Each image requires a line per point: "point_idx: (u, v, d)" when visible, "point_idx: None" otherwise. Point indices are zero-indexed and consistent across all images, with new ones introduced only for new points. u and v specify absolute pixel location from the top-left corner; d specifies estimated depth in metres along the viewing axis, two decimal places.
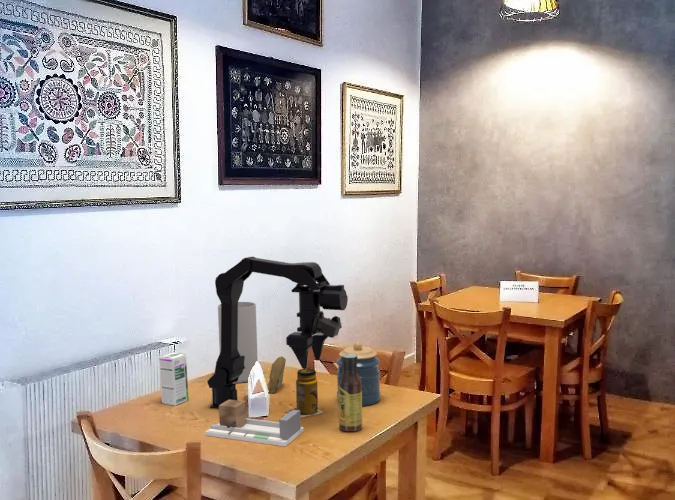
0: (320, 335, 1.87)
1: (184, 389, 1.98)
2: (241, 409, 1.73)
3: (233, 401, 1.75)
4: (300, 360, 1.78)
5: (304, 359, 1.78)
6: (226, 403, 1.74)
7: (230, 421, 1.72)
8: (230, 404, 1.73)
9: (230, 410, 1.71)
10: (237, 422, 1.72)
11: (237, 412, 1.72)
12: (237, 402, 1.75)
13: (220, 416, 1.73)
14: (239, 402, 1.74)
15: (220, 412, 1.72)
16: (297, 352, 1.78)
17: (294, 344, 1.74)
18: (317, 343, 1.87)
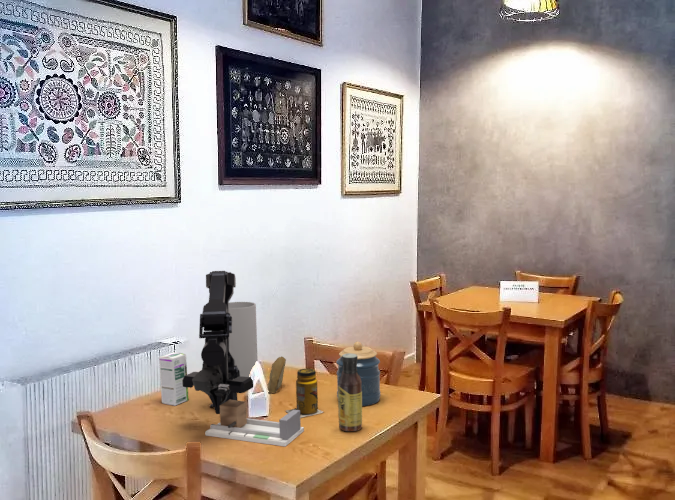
0: None
1: (184, 389, 1.98)
2: (242, 409, 1.73)
3: (234, 401, 1.75)
4: None
5: None
6: (227, 403, 1.74)
7: (231, 421, 1.71)
8: (231, 404, 1.73)
9: (231, 410, 1.71)
10: (238, 422, 1.72)
11: (238, 412, 1.72)
12: (238, 402, 1.75)
13: (221, 416, 1.72)
14: (240, 402, 1.74)
15: (221, 412, 1.72)
16: None
17: None
18: None
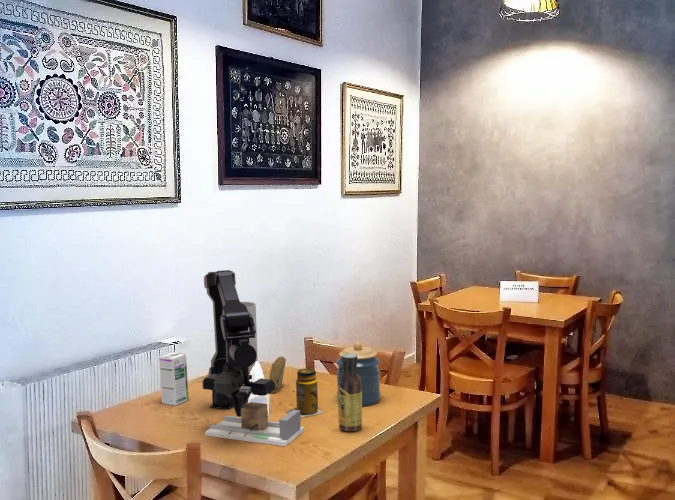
0: (240, 391, 1.72)
1: (184, 389, 1.98)
2: (263, 412, 1.71)
3: (255, 403, 1.73)
4: None
5: None
6: (248, 406, 1.71)
7: (252, 424, 1.69)
8: (252, 407, 1.70)
9: (253, 413, 1.69)
10: (259, 425, 1.69)
11: (260, 415, 1.69)
12: (259, 404, 1.72)
13: (242, 419, 1.70)
14: (261, 404, 1.72)
15: (242, 415, 1.70)
16: None
17: None
18: None
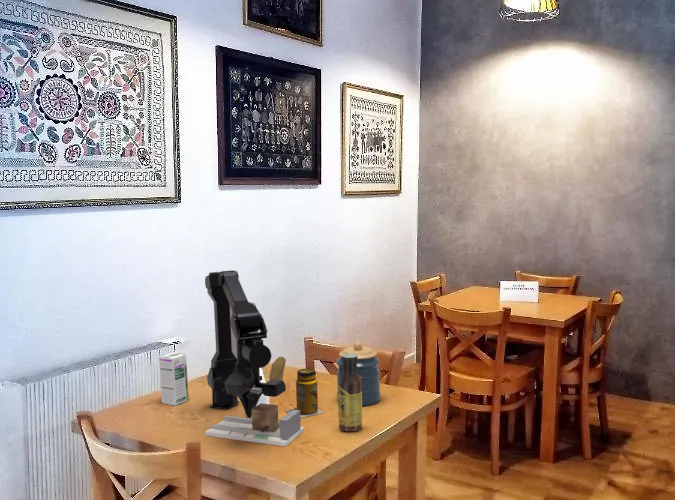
0: None
1: (184, 389, 1.98)
2: (274, 413, 1.70)
3: (266, 405, 1.72)
4: None
5: None
6: (259, 407, 1.70)
7: (263, 425, 1.68)
8: (263, 408, 1.69)
9: (263, 414, 1.68)
10: (270, 426, 1.68)
11: (270, 416, 1.68)
12: (270, 405, 1.71)
13: (253, 420, 1.69)
14: (272, 406, 1.71)
15: (253, 416, 1.69)
16: None
17: None
18: None
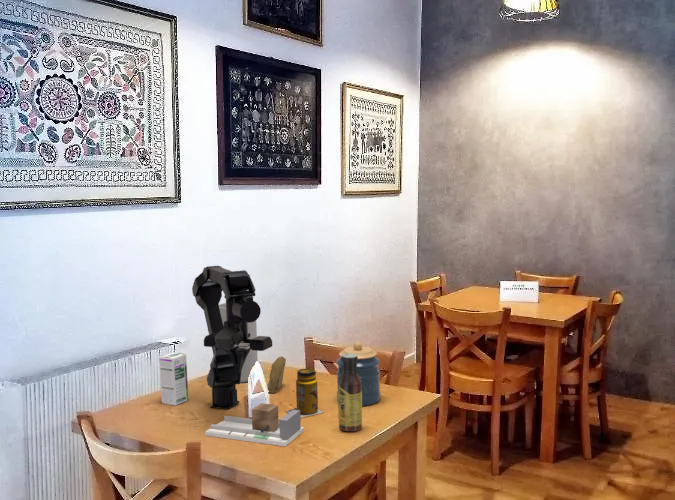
0: None
1: (184, 389, 1.98)
2: (274, 413, 1.70)
3: (266, 405, 1.72)
4: None
5: None
6: (259, 407, 1.70)
7: (263, 425, 1.68)
8: (263, 408, 1.69)
9: (263, 414, 1.68)
10: (270, 426, 1.68)
11: (271, 416, 1.68)
12: (270, 405, 1.71)
13: (253, 420, 1.69)
14: (272, 406, 1.71)
15: (253, 416, 1.69)
16: None
17: None
18: None
